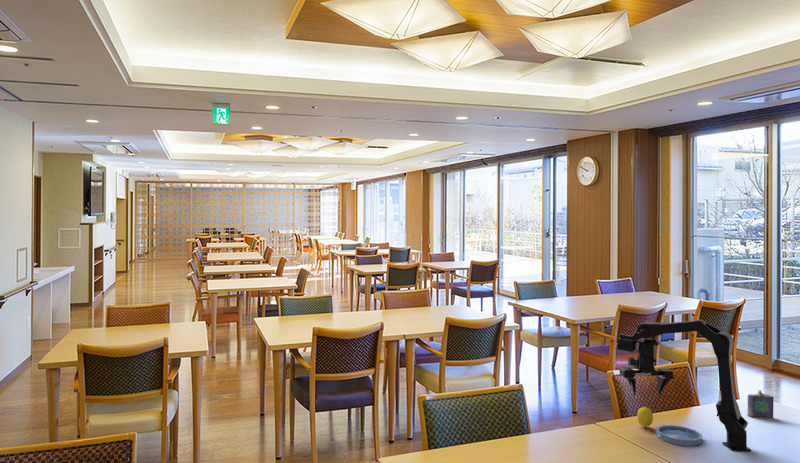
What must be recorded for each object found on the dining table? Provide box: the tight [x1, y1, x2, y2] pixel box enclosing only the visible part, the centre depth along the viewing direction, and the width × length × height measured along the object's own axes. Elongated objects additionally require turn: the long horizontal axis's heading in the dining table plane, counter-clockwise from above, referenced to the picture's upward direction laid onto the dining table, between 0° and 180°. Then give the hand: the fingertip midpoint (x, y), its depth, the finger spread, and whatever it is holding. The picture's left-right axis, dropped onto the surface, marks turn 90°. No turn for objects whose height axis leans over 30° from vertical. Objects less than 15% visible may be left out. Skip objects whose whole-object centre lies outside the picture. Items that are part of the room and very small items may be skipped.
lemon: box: [636, 406, 654, 428], centre depth 203 cm, size 6×6×8 cm
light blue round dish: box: [655, 424, 703, 447], centre depth 193 cm, size 15×15×2 cm
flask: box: [746, 389, 774, 419], centre depth 215 cm, size 9×3×11 cm, turn 76°
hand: (646, 395), depth 204 cm, fingers open, 9 cm apart
